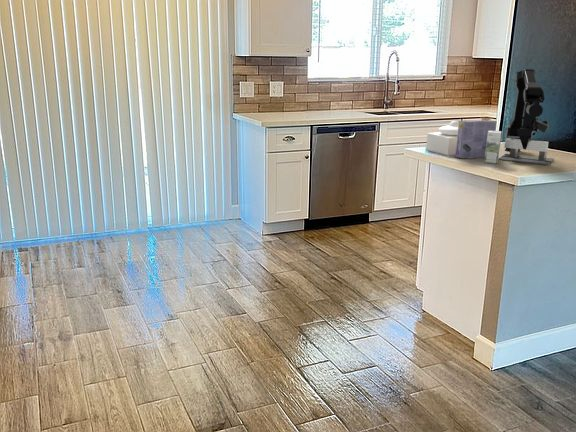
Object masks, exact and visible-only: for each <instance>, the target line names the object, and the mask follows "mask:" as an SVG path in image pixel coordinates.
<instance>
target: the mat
mask: <svg viewBox="0 0 576 432" xmlns="http://www.w3.org/2000/svg"><path fill="white" fill-rule="evenodd" d="M501 160H502V162H503V161H504V162H511V161H512V162H513V163H522V164H531V165H539V166H540V165H541V166H549V165H551V164H552V162H547V161H538V160H528V159H519V158H509V157H502V156H499V159H498V161H501Z"/></svg>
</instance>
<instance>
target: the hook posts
mask: <svg viewBox="0 0 576 432" xmlns="http://www.w3.org/2000/svg"><path fill="white" fill-rule="evenodd" d="M538 152H539V153H538V156H532V155H522V154H518V153H519V151H518V149H513V148H510V151H509V153H504V154H502V155H501V157H509V158H519V159H528V160H538V161H547V162H551V163H552V162H553V161H554V160H555V158H552V157H547V155H548V150H547V151H546V152H543V151H538Z"/></svg>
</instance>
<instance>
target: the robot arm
mask: <svg viewBox="0 0 576 432" xmlns="http://www.w3.org/2000/svg"><path fill="white" fill-rule="evenodd" d="M513 79H514V85H515V87H516V89H517V91H516V97H515V104H514V112H513V117H512V119H510V121H509V122H508V126H506V130H505V133H504V138H505V139H507V138H512V139H520V140H521V143H522V146H523V149H526V148H527V145H528V142H529V140H532V138H533V137H534V136H536V135H537V133H538V132H539V131H541V132H542V133H546V132H547V131H548V129H549V127H550V124H549V120H546V119H545V120H543V121H540V120H539V117H540V116H541V115H542V114H543V111H544V108H543V106H542V105H541V104H542V103H544V101H545V92H544V89H543V88H542V85H541V84H539V83H537V82H538V81H537V79H536V72H535V68H523V69H522V70H520V71H517V72H516V73H515V75H514V78H513ZM523 149H518V152H520V151H521V150H523ZM504 151H506V152H510V148H505V149H504Z"/></svg>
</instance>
